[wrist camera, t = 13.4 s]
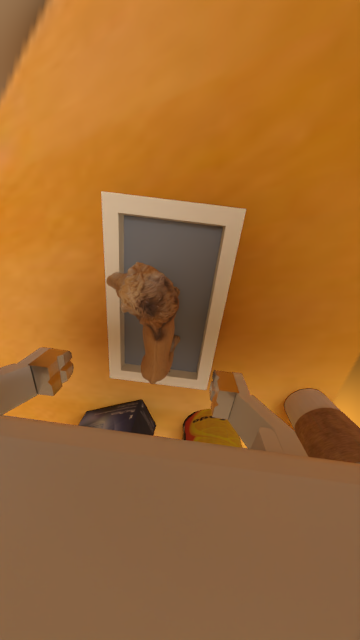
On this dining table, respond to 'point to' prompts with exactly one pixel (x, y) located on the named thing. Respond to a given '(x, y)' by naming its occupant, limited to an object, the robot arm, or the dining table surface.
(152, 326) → the lion figurine
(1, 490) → the robot arm
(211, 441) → the yellow food can
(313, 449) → the coffee cup
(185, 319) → the picture frame
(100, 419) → the small box
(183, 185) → the dining table surface
